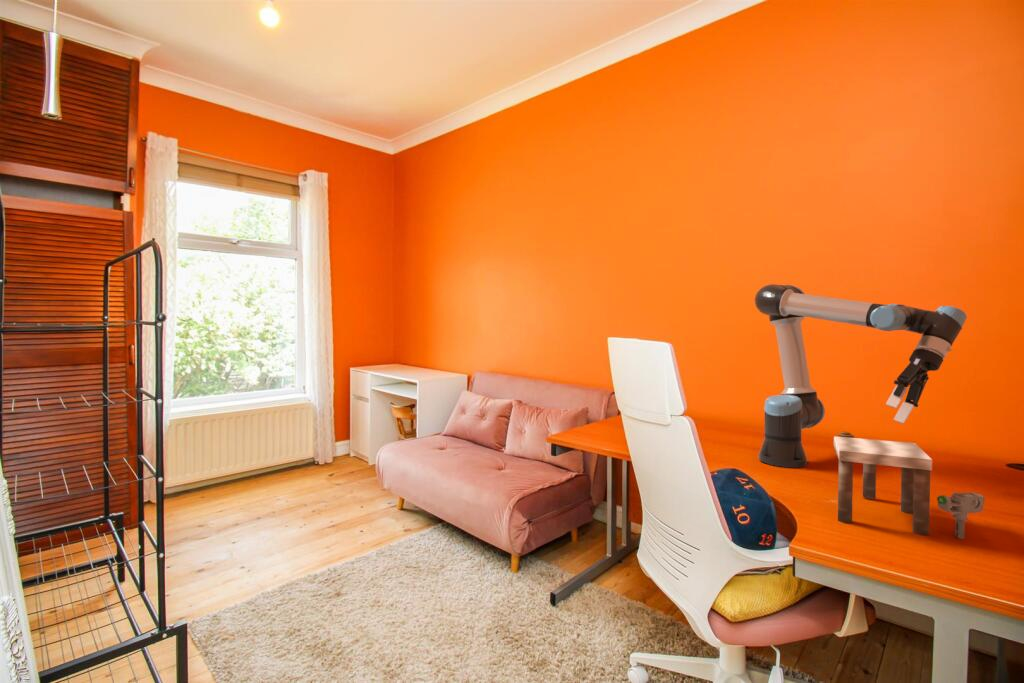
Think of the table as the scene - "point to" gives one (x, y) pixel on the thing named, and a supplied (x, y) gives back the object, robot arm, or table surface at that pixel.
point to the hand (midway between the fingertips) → (894, 414)
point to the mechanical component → (961, 508)
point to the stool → (889, 454)
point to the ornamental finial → (845, 435)
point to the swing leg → (869, 481)
